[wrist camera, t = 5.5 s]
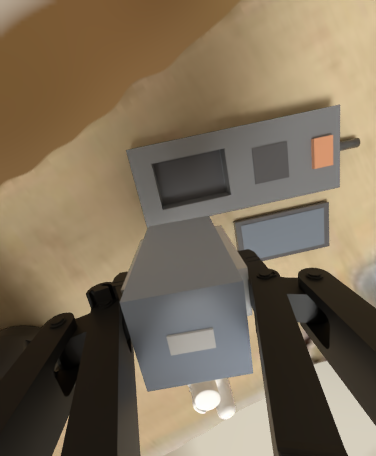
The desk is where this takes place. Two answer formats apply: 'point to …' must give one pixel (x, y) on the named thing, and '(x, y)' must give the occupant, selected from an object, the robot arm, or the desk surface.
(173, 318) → the brick
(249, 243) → the phone
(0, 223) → the desk surface
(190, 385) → the figurine
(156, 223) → the power strip
